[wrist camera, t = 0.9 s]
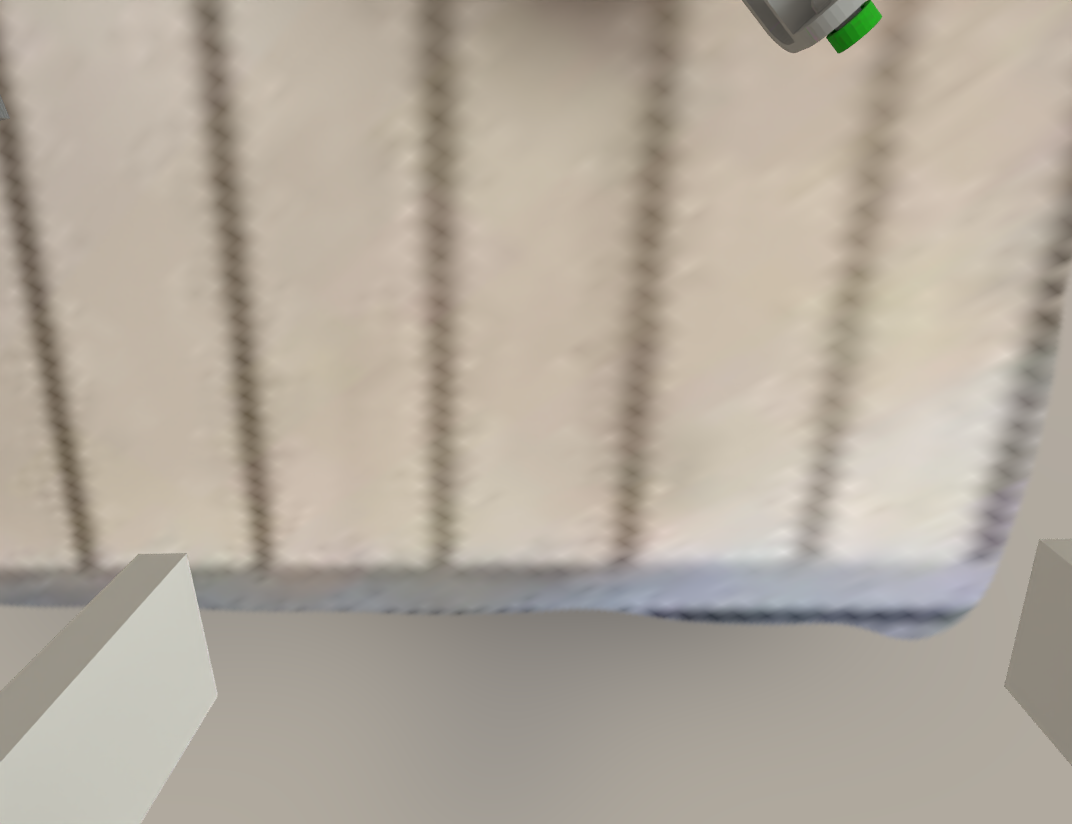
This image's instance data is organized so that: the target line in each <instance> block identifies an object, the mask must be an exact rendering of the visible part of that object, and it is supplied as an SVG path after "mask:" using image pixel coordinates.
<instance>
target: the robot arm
mask: <svg viewBox="0 0 1072 824" xmlns="http://www.w3.org/2000/svg"><path fill="white" fill-rule="evenodd" d="M1005 688H1006V689H1007V690H1008V691H1009V692H1010V693H1011V695H1012V696H1013V697H1014V698H1015V699H1016V700H1017V702H1018V703H1019V704H1020V705H1021V706H1022V708H1023V709H1024V710H1025V711H1026V712H1027V714H1028V715H1029V716H1030V717H1031V718H1032V719H1033V721H1034V722H1035V723H1036V724H1037V725H1038V727H1039V728H1040V729H1041V730H1042V731H1043V732H1044V734H1045V735H1046V736H1047V737H1048V738H1049V740H1050V741H1051V742H1052V743H1053V744H1054V745H1055V747H1056V748H1057V749H1058V750H1059V751H1060V752H1061V754H1062V755H1063V756H1064V757H1065V758H1066V759H1067V761H1068V762H1069V763H1070V764H1071V765H1072V539H1039V542H1038V546H1037V551H1036V555H1035V559H1034V563H1033V567H1032V571H1031V576H1030V580H1029V584H1028V588H1027V592H1026V597H1025V601H1024V605H1023V609H1022V613H1021V618H1020V622H1019V626H1018V630H1017V635H1016V639H1015V643H1014V647H1013V651H1012V655H1011V660H1010V664H1009V668H1008V672H1007V676H1006V681H1005ZM217 696H218V693H217V688H216V684H215V679H214V676H213V671H212V666H211V662H210V657H209V652H208V648H207V643H206V639H205V635H204V630H203V625H202V621H201V616H200V612H199V607H198V603H197V598H196V594H195V589H194V584H193V580H192V575H191V571H190V566H189V562H188V557H187V553H180V554H138V555H137V556H136V557H135V558H134V559H133V560H132V561H131V562H130V563H129V564H128V565H127V566H126V567H125V568H124V569H123V570H122V571H121V572H120V573H119V574H118V575H117V576H116V577H115V578H114V579H113V580H112V581H111V582H110V583H109V584H108V585H107V586H106V587H105V588H104V589H103V590H102V591H101V592H100V593H99V594H98V595H97V596H96V597H95V598H94V599H93V600H92V601H91V602H90V603H89V604H88V605H87V606H86V607H85V608H84V609H83V610H82V611H81V612H80V613H79V614H78V615H77V616H76V617H75V618H74V619H73V620H72V621H70V623H69V624H67V626H65V627H64V629H63V630H62V631H60V632H59V633H58V634H57V635H56V636H55V637H54V638H53V639H52V640H51V641H50V642H49V643H48V644H47V645H46V646H45V647H44V648H43V649H42V650H41V651H40V652H39V653H38V654H37V655H36V656H35V657H34V658H33V659H32V660H31V661H30V662H29V663H28V664H27V665H26V666H25V667H24V668H23V669H22V670H21V671H20V672H19V673H18V674H17V675H16V676H15V677H14V678H13V679H12V680H11V681H10V682H9V683H8V684H7V685H6V686H5V687H4V688H3V689H2V690H1V691H0V824H141V822H142V821H143V819H144V817H145V816H146V814H147V812H148V811H149V809H150V807H151V806H152V804H153V802H154V800H155V799H156V797H157V795H158V794H159V792H160V791H161V789H162V787H163V786H164V784H165V782H166V781H167V779H168V777H169V776H170V774H171V772H172V771H173V769H174V767H175V766H176V764H177V763H178V761H179V759H180V757H181V756H182V754H183V752H184V751H185V749H186V748H187V746H188V744H189V743H190V741H191V739H192V738H193V736H194V734H195V733H196V731H197V729H198V728H199V726H200V724H201V723H202V721H203V719H204V718H205V716H206V714H207V713H208V711H209V709H210V708H211V706H212V704H213V703H214V701H215V700H216V698H217Z"/></svg>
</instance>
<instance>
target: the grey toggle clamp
mask: <svg viewBox="0 0 1072 824" xmlns="http://www.w3.org/2000/svg"><path fill="white" fill-rule="evenodd" d="M5 119H9V115H8V113H7V110H6V108H5V105H4V103H3V101H2V98H1V96H0V120H5Z"/></svg>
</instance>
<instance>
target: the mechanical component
mask: <svg viewBox="0 0 1072 824" xmlns="http://www.w3.org/2000/svg"><path fill="white" fill-rule="evenodd" d="M742 1H743V2H744V4H745V5H746V6H747V7H748V9H749V10H750V11H751V13H752V14H753V15H754V17H755V18H756V19H757V21H758V22H759V23H760V25H761V26H762V27H763V29H764V30H765V31H766V32H767V34H768V35H769V36H770V37H771V38H772V39H773V40H774V41H775V42H776V43H777V44H778V45H779V46H780V47H782V48H783V49H785V50H786V51H788V52H791V53H797V52H799V51H801V50H804V49H806V48H809V47H811V46H812V45H814V44H816V43H817V42H818V41H820V40H821V39H823V38H824V37H825V36H827V37H826V38H827V39H828V41H829V42H830V43H831V45H832V46H833V47H834V49H835V50H836V51H837V53H841V52H843V51H845V50H846V49H848V48H849V47H850V46H852V45H853V44H855V43H856V42H857V41H858V40H860V39H861V38H862V37H863V36H864V35H865V34H867V33H868V32H869V31H870V30H871V29H872V28H873V27H874V26H875V25H876V24H877V23H878V22H879V21H880V19H881V18H882V15H881V14H880V12H879V11H878V10H877V8H876V7H875V5H874V4H873V3H872V1H871V0H868V1H866V0H742ZM865 1H866V2H865Z"/></svg>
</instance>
